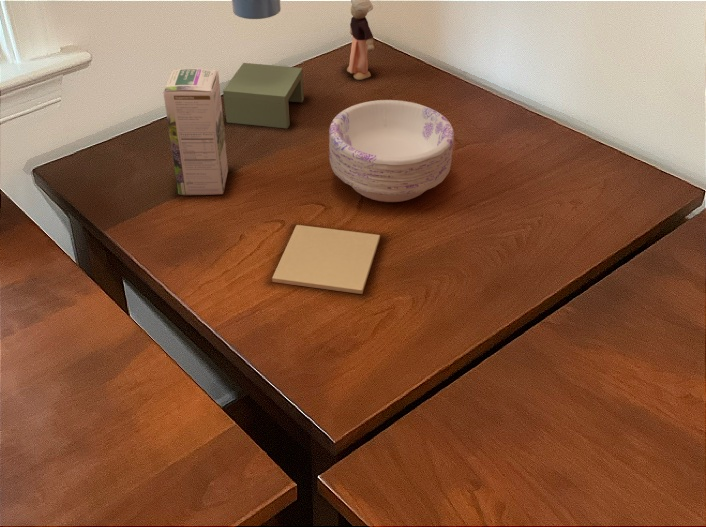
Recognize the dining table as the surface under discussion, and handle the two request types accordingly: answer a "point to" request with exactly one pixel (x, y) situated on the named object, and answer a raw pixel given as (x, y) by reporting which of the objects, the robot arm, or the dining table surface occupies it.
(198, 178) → the syrup box
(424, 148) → the paper bowls
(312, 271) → the mat
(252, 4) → the cup
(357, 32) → the grandmother figurine
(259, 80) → the shelf
